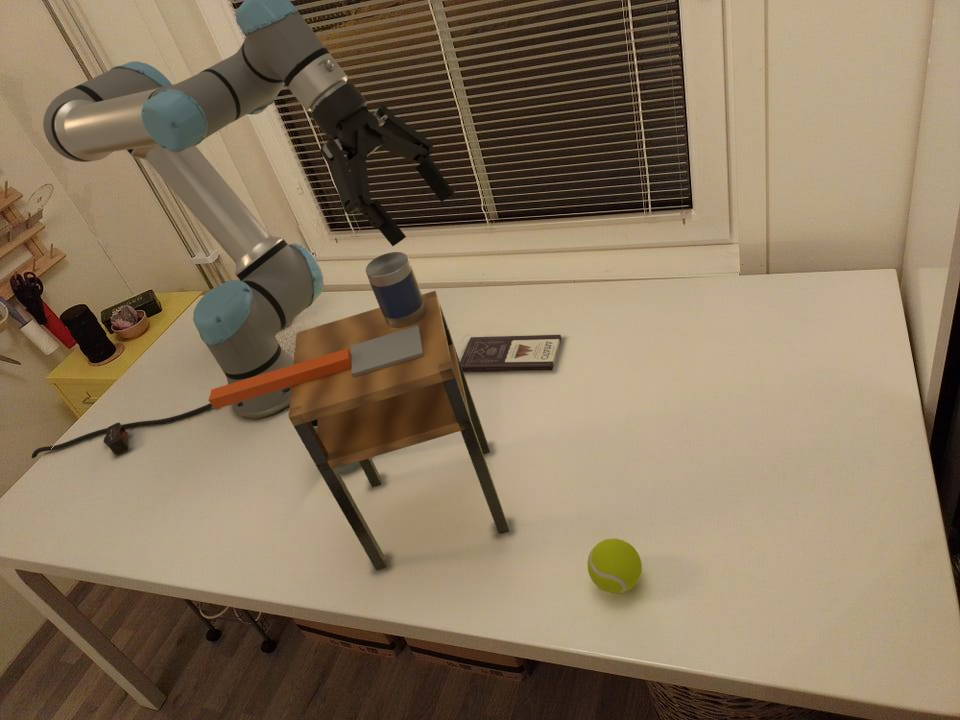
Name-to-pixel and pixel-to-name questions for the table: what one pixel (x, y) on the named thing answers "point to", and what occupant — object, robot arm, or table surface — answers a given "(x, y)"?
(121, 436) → the dark brown lumpy chunk
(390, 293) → the tin can
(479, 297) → the table surface
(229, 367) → the robot arm
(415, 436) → the side table
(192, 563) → the table surface
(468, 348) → the chocolate bar
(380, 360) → the spatula
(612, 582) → the tennis ball
